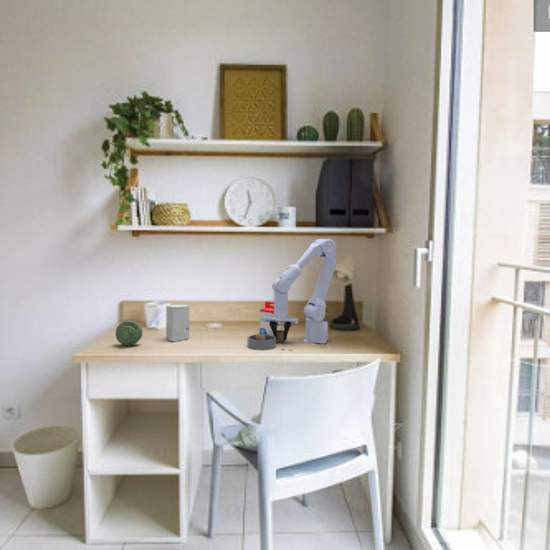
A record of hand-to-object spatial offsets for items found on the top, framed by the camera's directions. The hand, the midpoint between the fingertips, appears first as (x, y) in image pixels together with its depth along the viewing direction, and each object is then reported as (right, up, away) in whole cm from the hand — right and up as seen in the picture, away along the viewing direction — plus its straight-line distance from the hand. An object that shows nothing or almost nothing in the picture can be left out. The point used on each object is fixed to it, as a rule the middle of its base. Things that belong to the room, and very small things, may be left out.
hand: (280, 339), depth 173 cm
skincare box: (-44, -1, +5) cm, 44 cm away
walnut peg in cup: (-8, -2, -9) cm, 12 cm away
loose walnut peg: (0, -1, 0) cm, 1 cm away
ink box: (-5, 0, +16) cm, 17 cm away
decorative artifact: (-61, -2, -8) cm, 62 cm away
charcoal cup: (-8, -2, -6) cm, 10 cm away
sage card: (+2, -3, -12) cm, 12 cm away
